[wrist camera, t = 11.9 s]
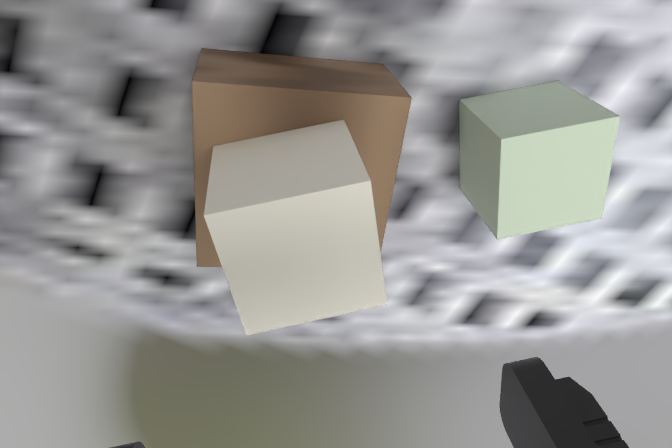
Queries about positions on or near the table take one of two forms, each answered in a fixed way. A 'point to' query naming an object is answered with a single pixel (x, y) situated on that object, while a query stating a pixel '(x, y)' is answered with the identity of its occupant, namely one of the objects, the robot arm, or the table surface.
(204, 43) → the table surface
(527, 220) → the sage green cube
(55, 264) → the table surface
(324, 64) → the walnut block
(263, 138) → the cream cube
